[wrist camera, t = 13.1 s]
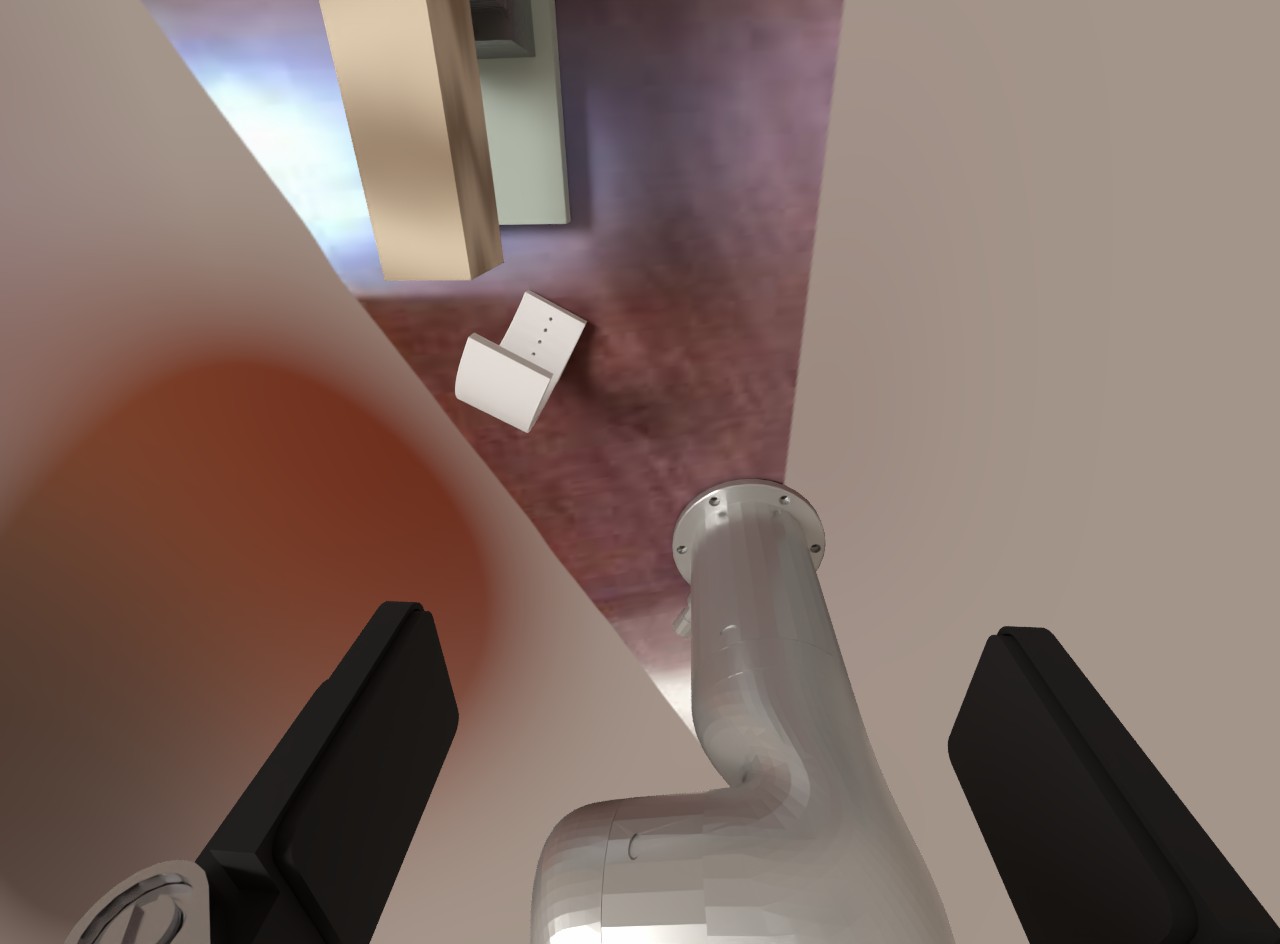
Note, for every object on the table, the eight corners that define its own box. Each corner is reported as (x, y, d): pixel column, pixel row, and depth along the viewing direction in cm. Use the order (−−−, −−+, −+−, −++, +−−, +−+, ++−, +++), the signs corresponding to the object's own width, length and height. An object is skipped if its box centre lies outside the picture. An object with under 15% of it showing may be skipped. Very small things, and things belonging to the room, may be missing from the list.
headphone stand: (587, 321, 39) (551, 379, 29) (553, 391, 42) (509, 467, 32) (528, 288, 38) (468, 336, 28) (497, 362, 41) (433, 430, 31)
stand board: (570, 221, 36) (566, 223, 35) (451, 223, 37) (443, 225, 35) (532, -303, 25) (523, -329, 24) (365, -288, 26) (348, -312, 25)
